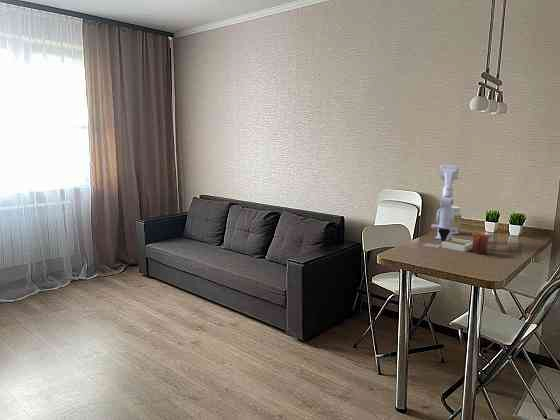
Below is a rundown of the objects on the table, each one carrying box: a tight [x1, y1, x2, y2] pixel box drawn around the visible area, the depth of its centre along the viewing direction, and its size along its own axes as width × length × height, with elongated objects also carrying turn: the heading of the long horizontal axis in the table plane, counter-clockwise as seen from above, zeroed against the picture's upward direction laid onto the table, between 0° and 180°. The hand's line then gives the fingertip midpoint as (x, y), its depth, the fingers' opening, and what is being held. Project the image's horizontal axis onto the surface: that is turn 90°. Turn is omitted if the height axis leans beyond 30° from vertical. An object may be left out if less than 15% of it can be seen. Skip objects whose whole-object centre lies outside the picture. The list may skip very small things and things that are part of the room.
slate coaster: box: [422, 242, 441, 249], centre depth 238 cm, size 8×8×1 cm
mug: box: [471, 231, 491, 255], centre depth 223 cm, size 12×9×10 cm
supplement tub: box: [451, 205, 462, 235], centre depth 275 cm, size 12×12×17 cm
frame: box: [440, 237, 473, 253], centre depth 236 cm, size 16×13×3 cm
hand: (443, 242), depth 241 cm, fingers closed
